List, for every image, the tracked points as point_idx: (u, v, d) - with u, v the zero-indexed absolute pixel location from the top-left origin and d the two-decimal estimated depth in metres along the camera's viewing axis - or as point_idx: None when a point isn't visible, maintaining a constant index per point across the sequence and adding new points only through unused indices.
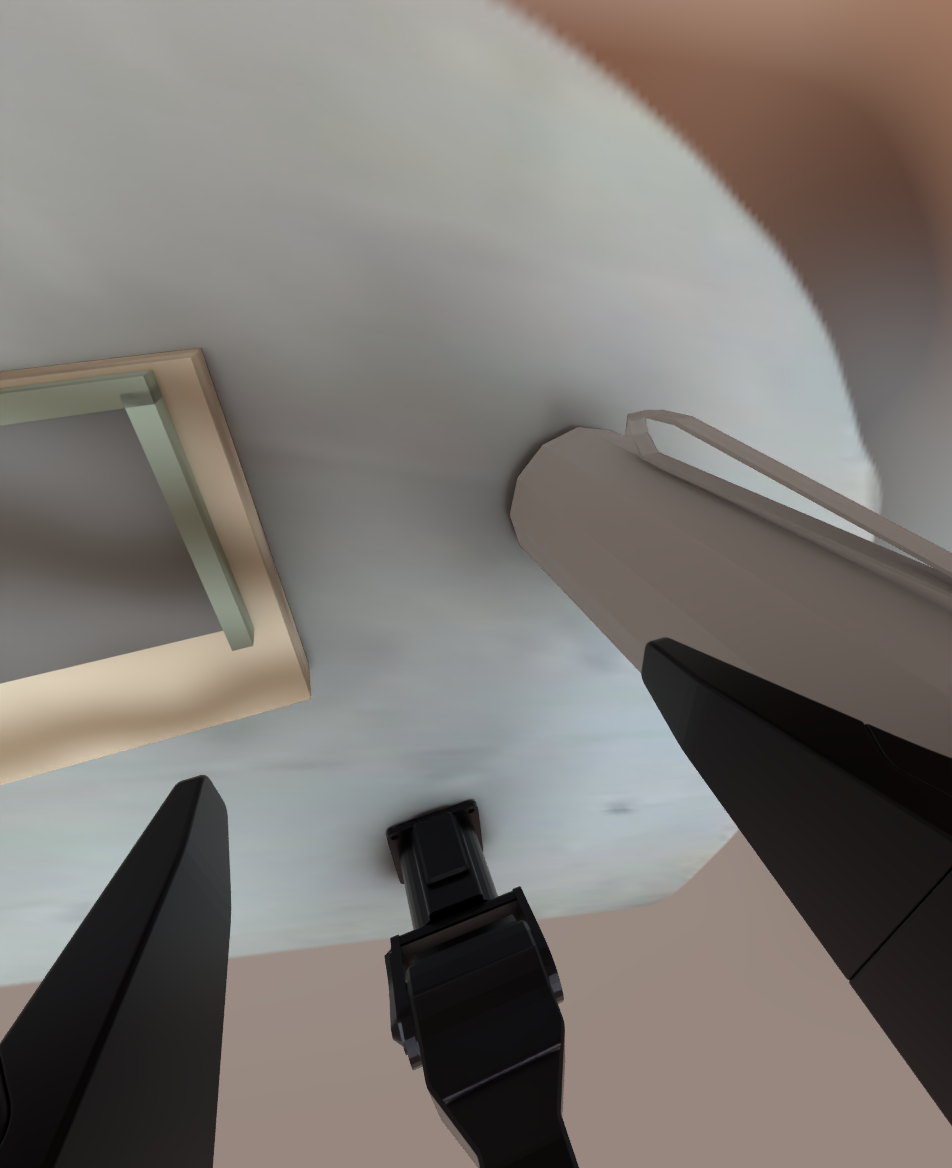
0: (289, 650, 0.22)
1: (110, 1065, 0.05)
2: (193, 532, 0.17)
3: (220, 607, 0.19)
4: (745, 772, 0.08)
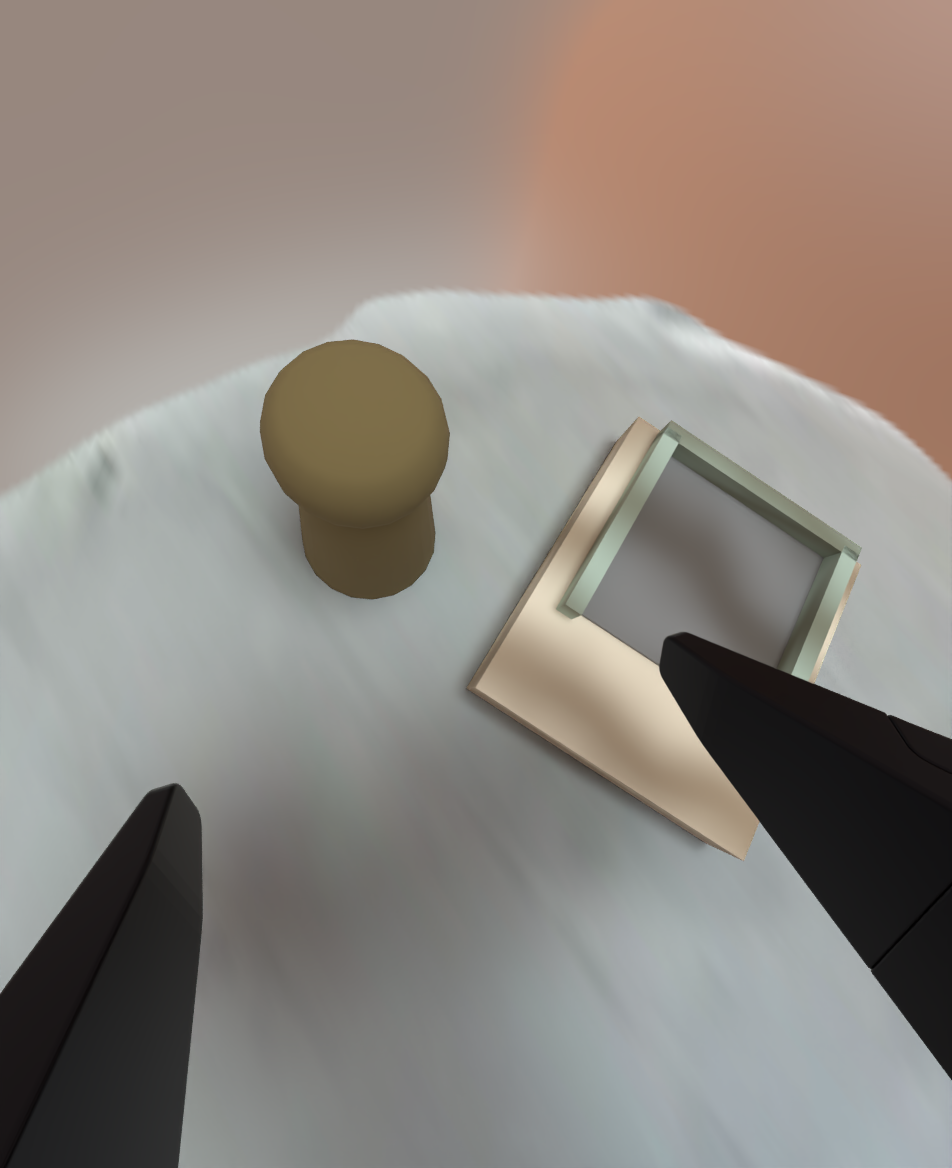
0: None
1: (62, 1084, 0.05)
2: (817, 634, 0.22)
3: None
4: (766, 764, 0.08)
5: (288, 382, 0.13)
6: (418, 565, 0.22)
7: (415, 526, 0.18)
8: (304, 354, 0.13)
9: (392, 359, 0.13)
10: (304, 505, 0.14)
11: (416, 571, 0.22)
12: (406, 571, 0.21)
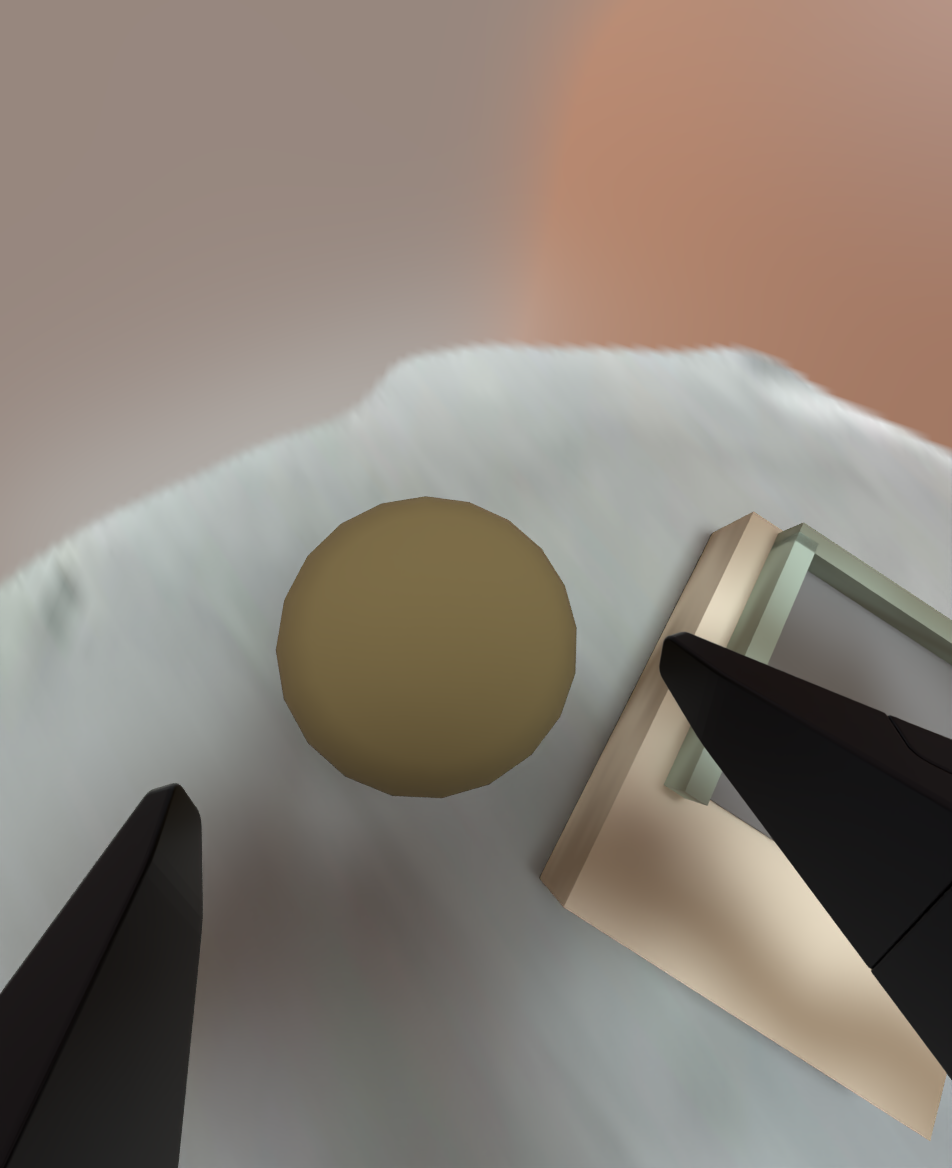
0: None
1: (61, 1084, 0.05)
2: None
3: None
4: (766, 764, 0.08)
5: (327, 591, 0.08)
6: None
7: None
8: (351, 534, 0.08)
9: (494, 539, 0.08)
10: (349, 777, 0.08)
11: None
12: None
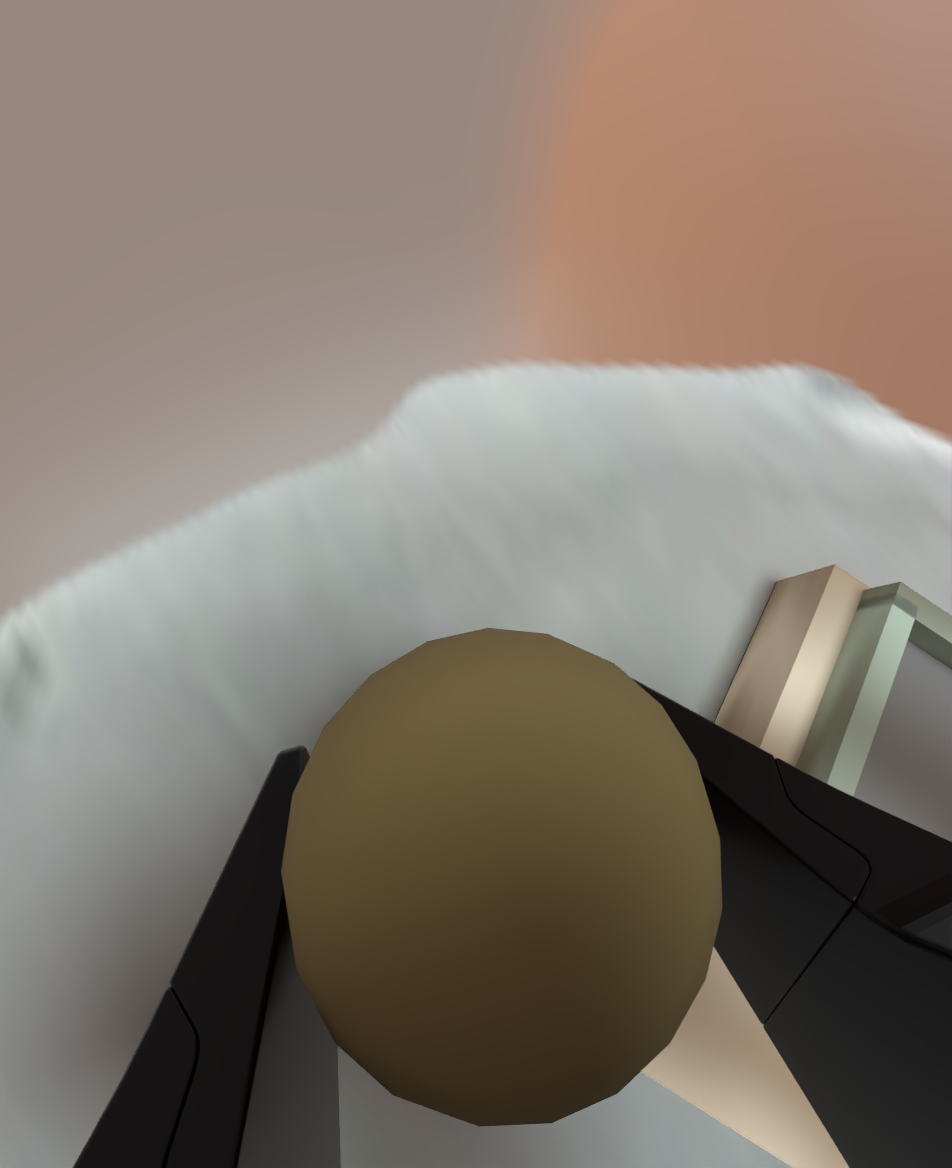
0: None
1: (276, 999, 0.05)
2: None
3: None
4: None
5: (363, 822, 0.05)
6: None
7: None
8: (396, 716, 0.05)
9: (611, 716, 0.05)
10: None
11: None
12: None
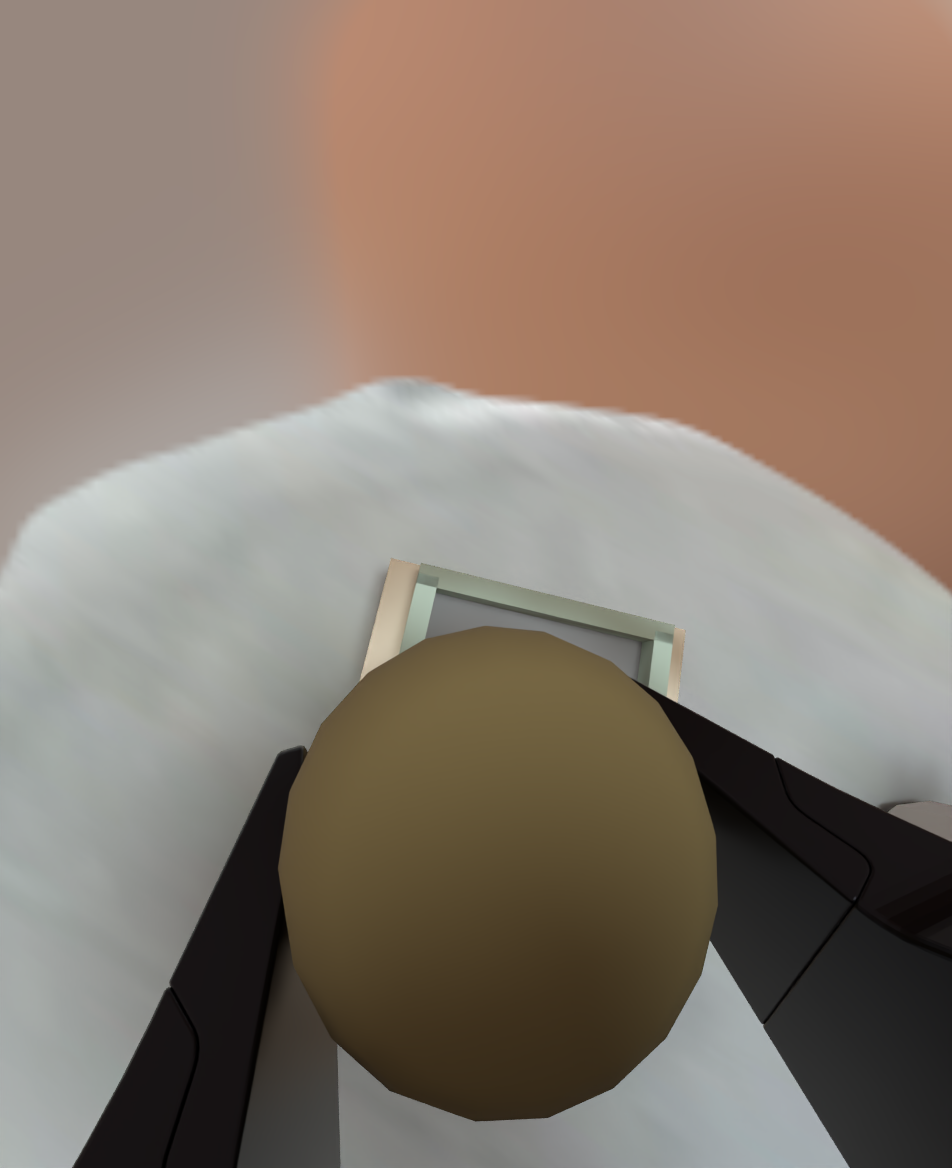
0: None
1: (275, 999, 0.05)
2: None
3: None
4: None
5: (360, 817, 0.05)
6: None
7: None
8: (393, 713, 0.05)
9: (607, 713, 0.05)
10: None
11: None
12: None
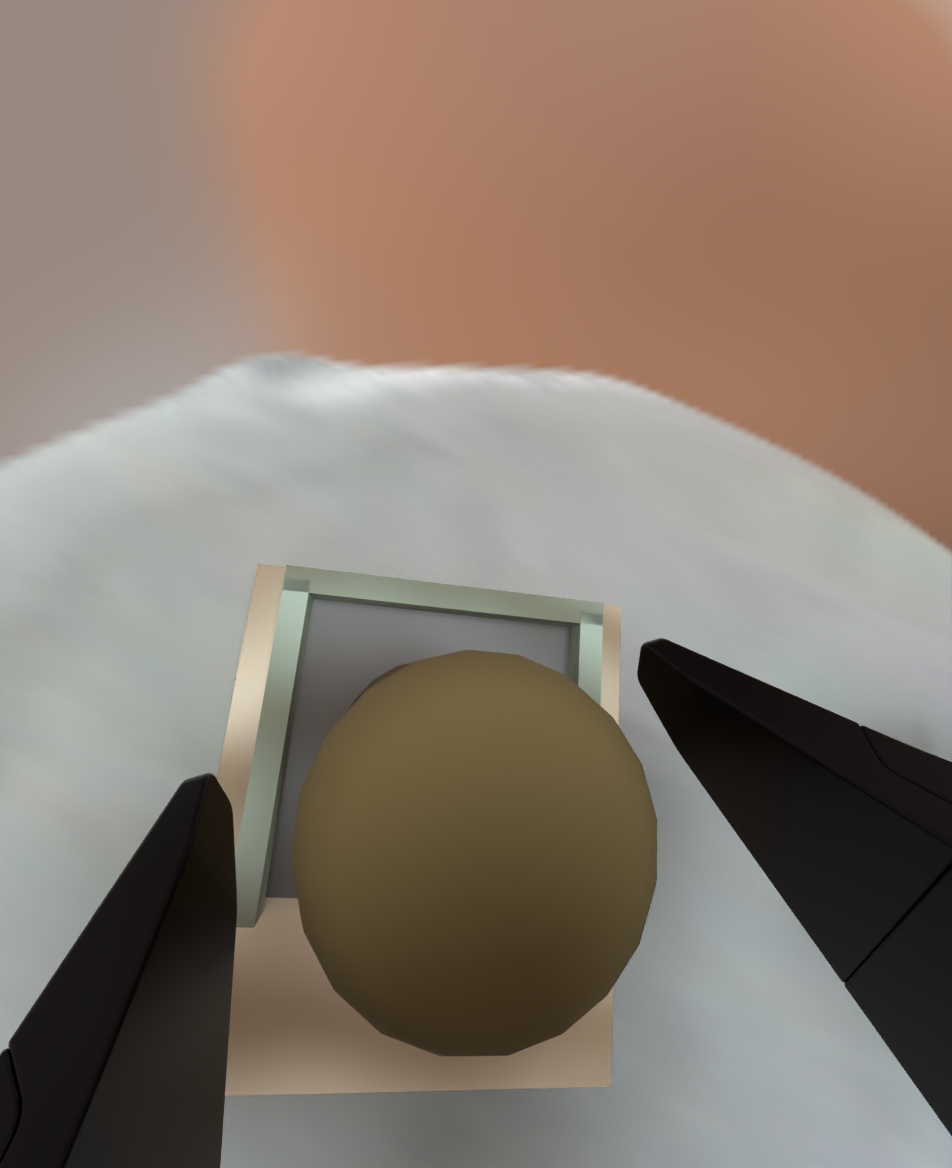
0: None
1: (120, 1061, 0.05)
2: None
3: None
4: (740, 774, 0.08)
5: (357, 812, 0.06)
6: None
7: None
8: (386, 727, 0.06)
9: (565, 728, 0.07)
10: None
11: None
12: None
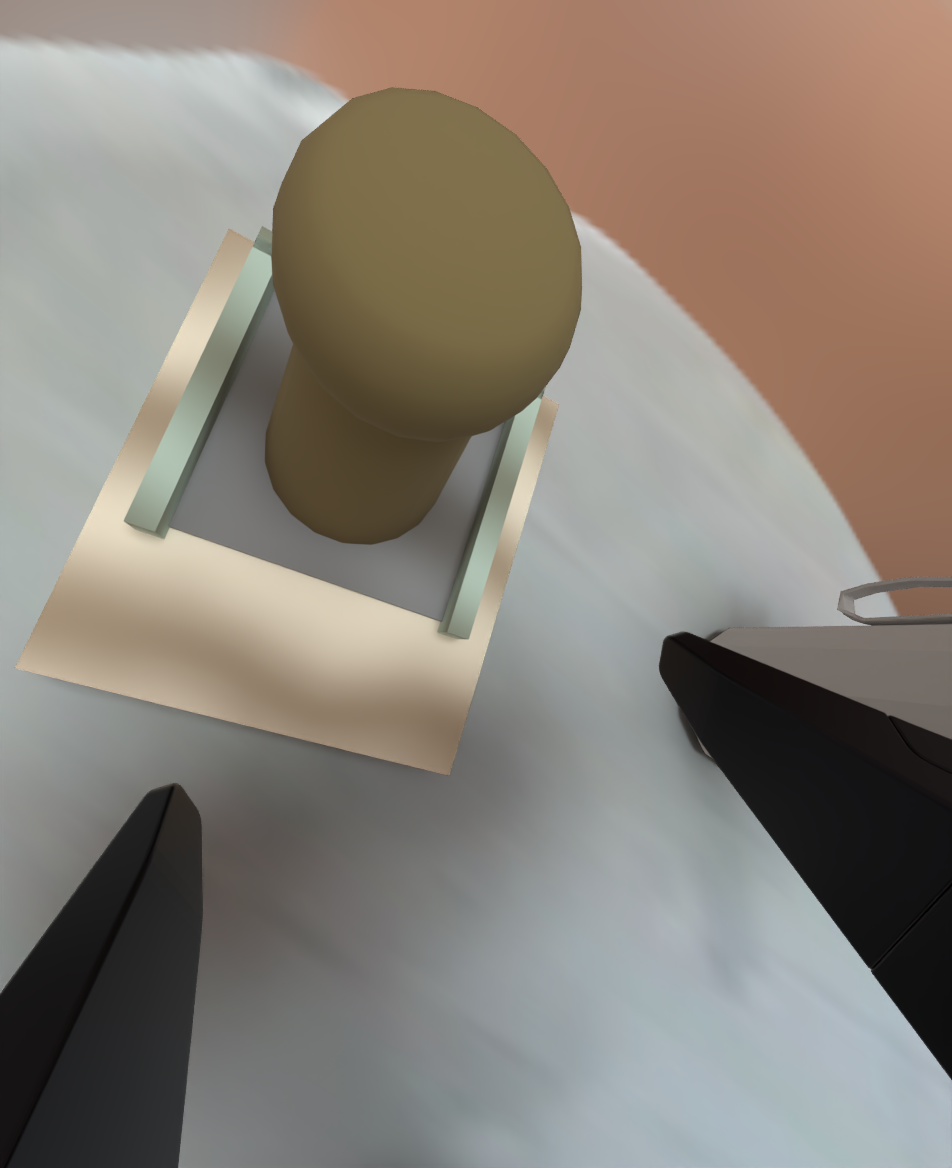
0: (469, 688, 0.18)
1: (61, 1084, 0.05)
2: (501, 496, 0.18)
3: (471, 576, 0.17)
4: (766, 764, 0.08)
5: (358, 122, 0.07)
6: (418, 515, 0.16)
7: (449, 460, 0.12)
8: (393, 91, 0.07)
9: (535, 166, 0.08)
10: (323, 363, 0.08)
11: (412, 522, 0.17)
12: (403, 519, 0.15)
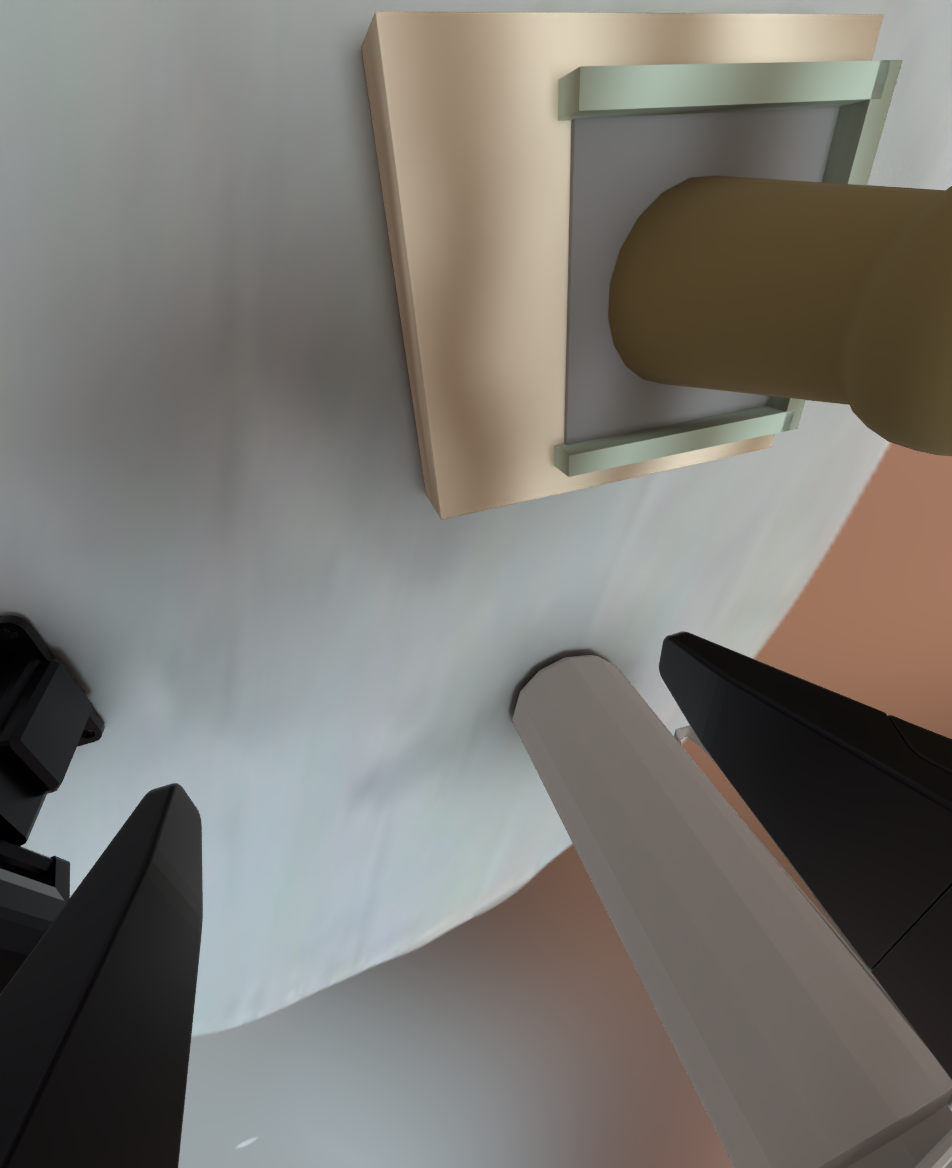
0: (517, 498, 0.19)
1: (62, 1084, 0.05)
2: (693, 440, 0.19)
3: (620, 451, 0.18)
4: (766, 764, 0.08)
5: None
6: (665, 377, 0.17)
7: (774, 390, 0.13)
8: None
9: None
10: (946, 261, 0.08)
11: (653, 374, 0.17)
12: (667, 367, 0.16)
